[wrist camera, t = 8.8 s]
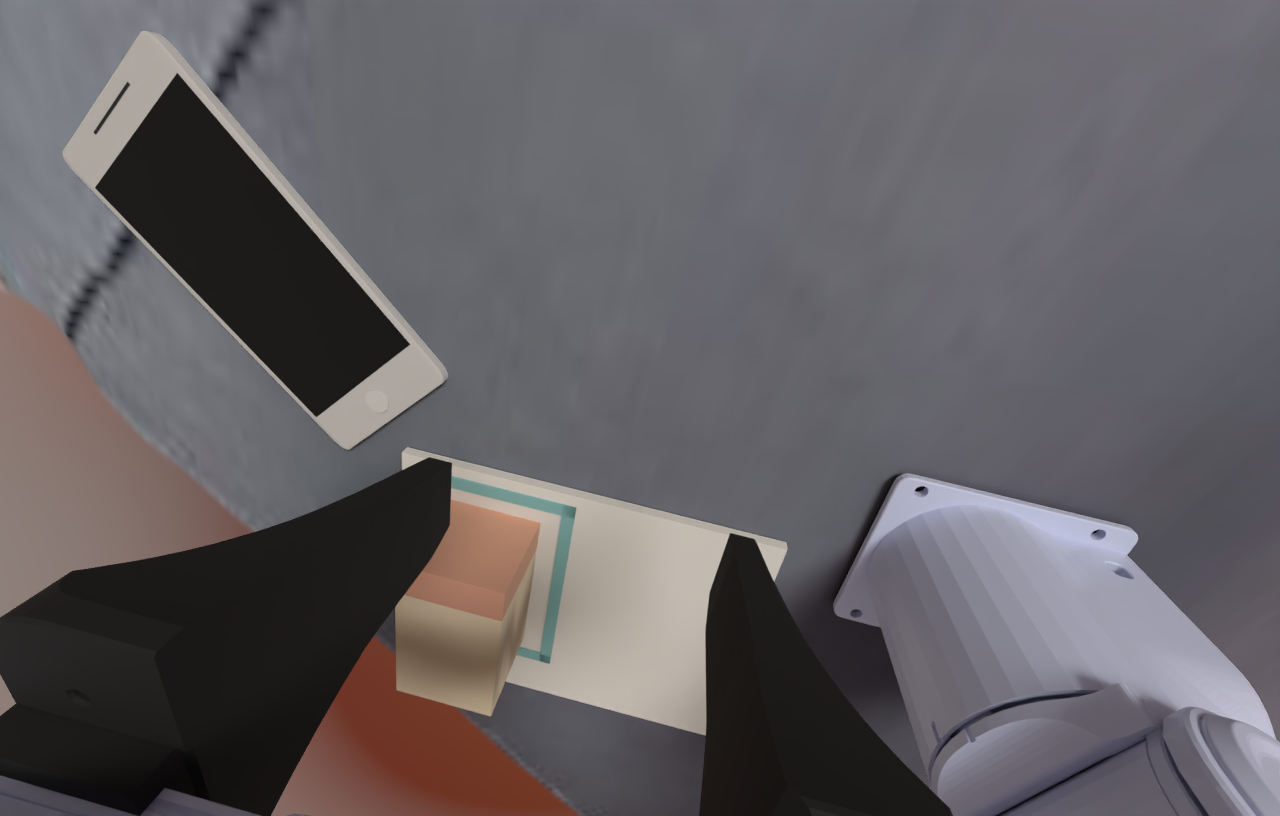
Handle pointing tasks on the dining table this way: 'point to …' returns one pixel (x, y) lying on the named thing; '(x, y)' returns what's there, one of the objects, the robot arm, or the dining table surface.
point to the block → (467, 610)
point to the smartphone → (248, 244)
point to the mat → (610, 594)
